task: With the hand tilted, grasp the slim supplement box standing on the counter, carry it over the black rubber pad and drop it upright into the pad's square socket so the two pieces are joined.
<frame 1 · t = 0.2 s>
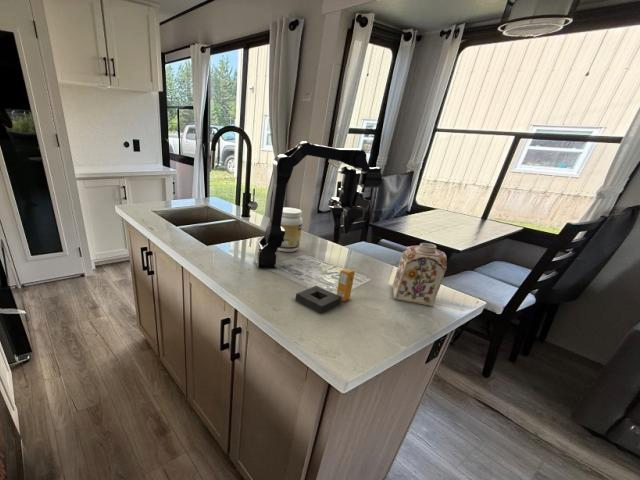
hand: (340, 229, 124), 15 cm above the countertop, tool pointing down, fingers open, 9 cm apart
decorative jar: (411, 296, 110), on the countertop
socket pad: (317, 302, 103), on the countertop
supplement box: (342, 299, 106), on the countertop
supplement tub: (285, 248, 147), on the countertop
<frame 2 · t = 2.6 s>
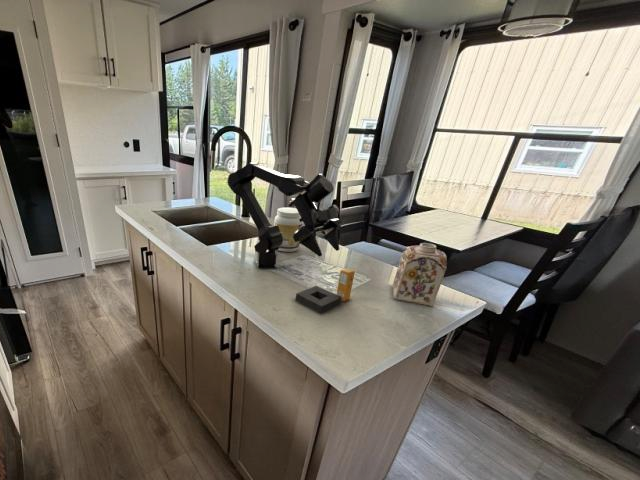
hand: (329, 253, 105), 13 cm above the countertop, tool tilted 45°, fingers open, 9 cm apart
nothing on the countertop moved.
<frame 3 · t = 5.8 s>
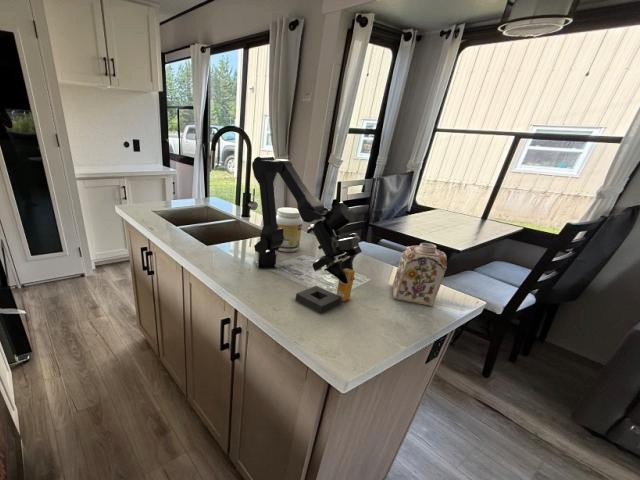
hand: (349, 281, 102), 7 cm above the countertop, tool tilted 45°, fingers closed on supplement box, 3 cm apart
supplement box: (342, 299, 106), on the countertop, touching gripper
everything else where it was.
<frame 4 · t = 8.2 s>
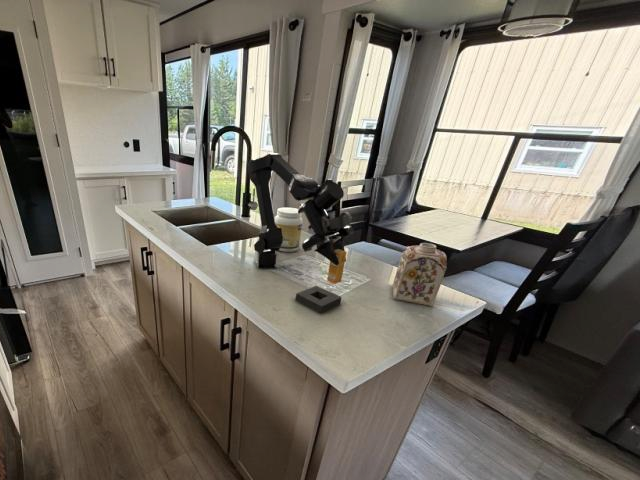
hand: (341, 263, 97), 13 cm above the countertop, tool tilted 45°, fingers closed on supplement box, 3 cm apart
supplement box: (333, 281, 102), point 6 cm above the countertop, touching gripper
everything else where it was.
when the fingers open (7 cm above the countertop, at t = 11.1 s): supplement box stays where it is, resting in socket pad.
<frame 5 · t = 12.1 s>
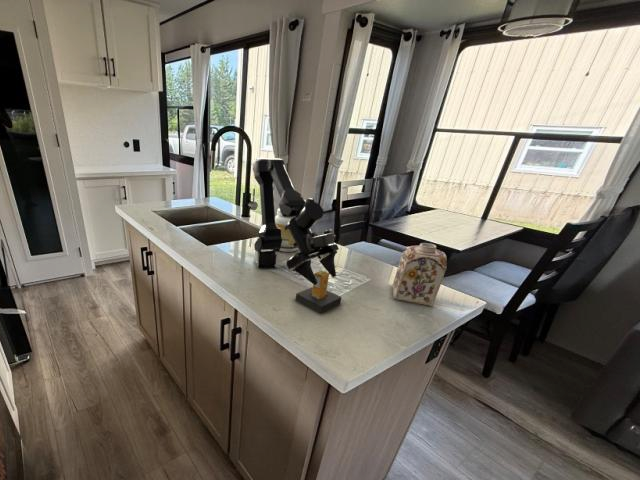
hand: (325, 280, 98), 8 cm above the countertop, tool tilted 45°, fingers open, 9 cm apart
supplement box: (317, 302, 103), resting in socket pad
everything else where it was.
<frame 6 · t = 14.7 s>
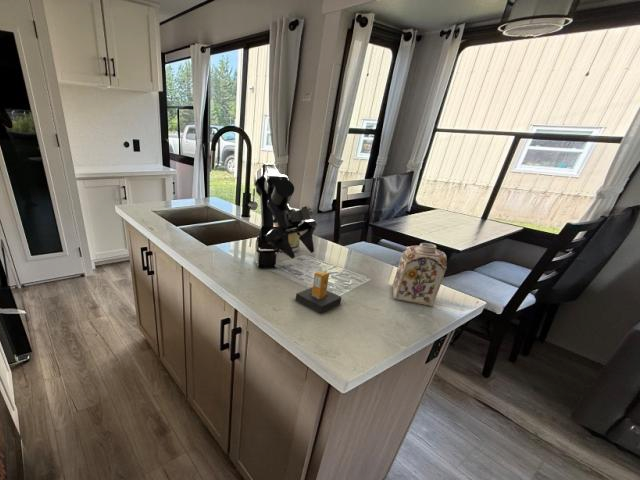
hand: (303, 255, 102), 13 cm above the countertop, tool tilted 45°, fingers open, 9 cm apart
nothing on the countertop moved.
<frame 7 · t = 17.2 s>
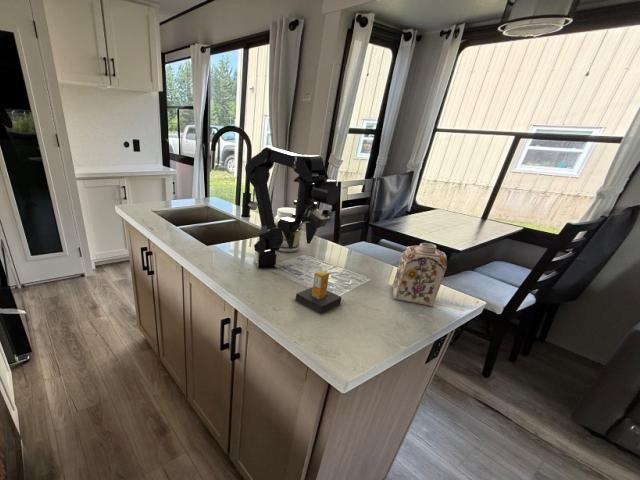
hand: (299, 246, 110), 13 cm above the countertop, tool pointing down, fingers open, 9 cm apart
nothing on the countertop moved.
at the end: supplement box 0.2 cm off-centre in the socket pad, point 0.0 cm above the socket pad's base; supplement box tilted 0°; the gripper is holding nothing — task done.
